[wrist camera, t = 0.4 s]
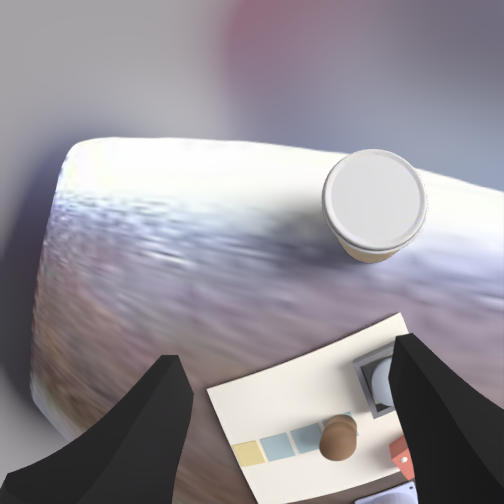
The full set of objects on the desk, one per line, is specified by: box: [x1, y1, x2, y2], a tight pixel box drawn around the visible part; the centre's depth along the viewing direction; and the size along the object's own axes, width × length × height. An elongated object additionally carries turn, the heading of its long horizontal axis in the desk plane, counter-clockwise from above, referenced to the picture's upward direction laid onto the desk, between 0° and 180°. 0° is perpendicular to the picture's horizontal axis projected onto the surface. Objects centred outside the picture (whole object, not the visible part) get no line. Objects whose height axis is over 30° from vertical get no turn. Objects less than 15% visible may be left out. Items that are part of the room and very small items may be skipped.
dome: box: [371, 356, 394, 406], centre depth 27 cm, size 5×5×3 cm
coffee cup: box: [322, 149, 428, 263], centre depth 29 cm, size 9×9×12 cm
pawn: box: [319, 414, 357, 461], centre depth 28 cm, size 4×4×5 cm
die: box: [389, 435, 415, 481], centre depth 25 cm, size 4×4×4 cm
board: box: [207, 312, 409, 504], centre depth 30 cm, size 19×25×4 cm
